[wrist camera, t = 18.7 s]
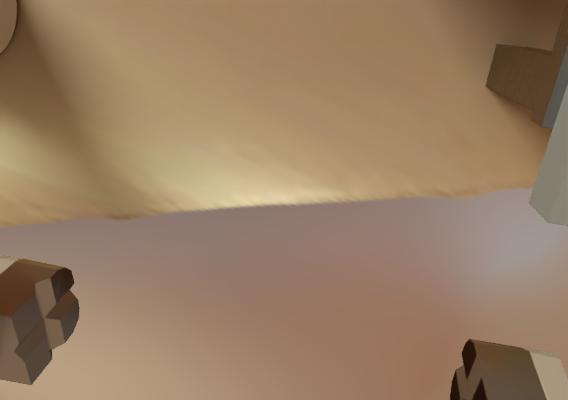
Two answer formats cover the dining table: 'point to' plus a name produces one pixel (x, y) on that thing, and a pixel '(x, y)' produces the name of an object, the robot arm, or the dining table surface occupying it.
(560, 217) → the gray block
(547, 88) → the gray arch block
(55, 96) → the dining table surface
